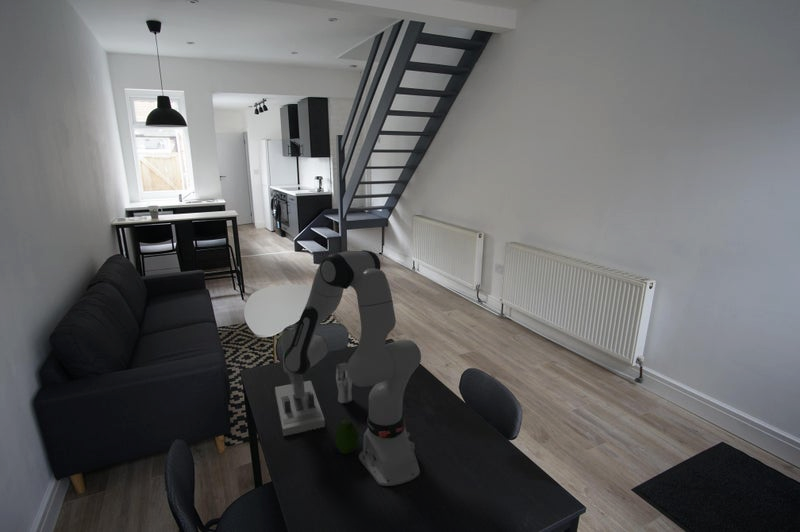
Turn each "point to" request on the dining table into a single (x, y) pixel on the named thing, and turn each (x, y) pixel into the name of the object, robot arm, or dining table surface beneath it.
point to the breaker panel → (298, 409)
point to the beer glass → (343, 383)
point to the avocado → (347, 437)
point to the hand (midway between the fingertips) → (297, 395)
